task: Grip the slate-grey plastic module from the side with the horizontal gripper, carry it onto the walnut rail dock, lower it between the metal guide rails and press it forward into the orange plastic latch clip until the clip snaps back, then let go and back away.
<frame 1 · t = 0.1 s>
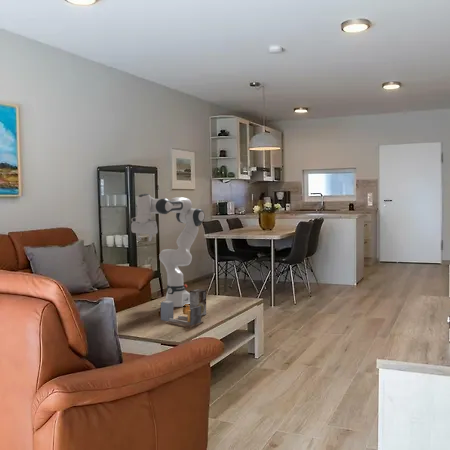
hand: (144, 240, 330), 48 cm above the table, tool pointing down, fingers open, 8 cm apart
module: (167, 319, 318), on the table
rail dock: (184, 323, 310), on the table
latch clip: (191, 316, 307), point 5 cm above the table, slide at 0.0 cm
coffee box: (198, 315, 331), on the table
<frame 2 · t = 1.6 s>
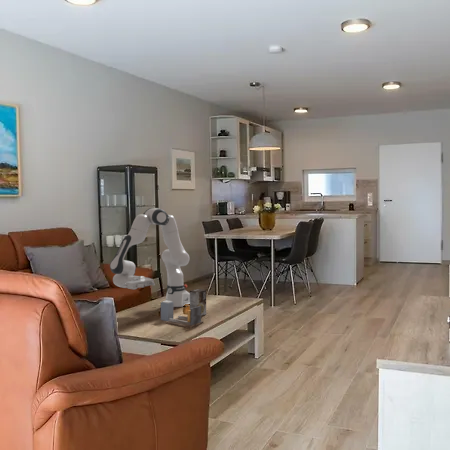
hand: (149, 284, 325), 20 cm above the table, tool horizontal, fingers open, 8 cm apart
nothing on the table moved.
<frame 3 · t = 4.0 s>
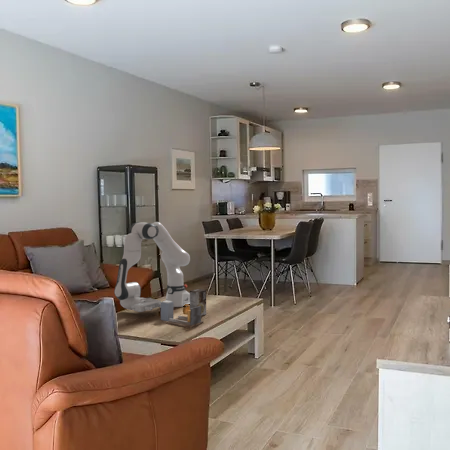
hand: (156, 307, 322), 6 cm above the table, tool horizontal, fingers open, 8 cm apart
nothing on the table moved.
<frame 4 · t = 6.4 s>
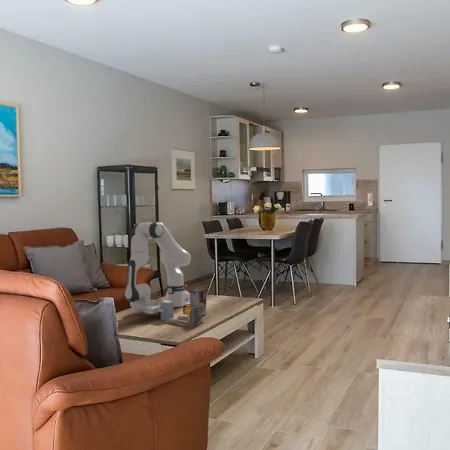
hand: (168, 309, 317), 7 cm above the table, tool horizontal, fingers closed on module, 5 cm apart
module: (167, 319, 318), on the table, touching gripper
everything else where it was.
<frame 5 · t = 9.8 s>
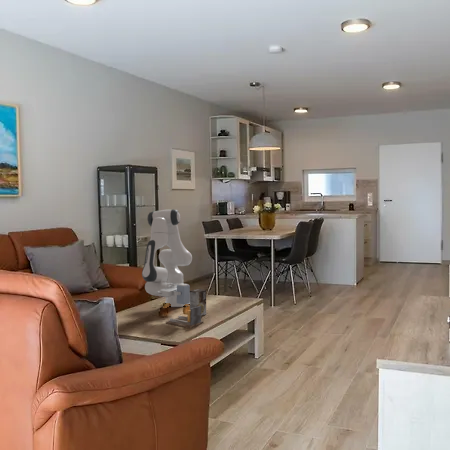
hand: (184, 292, 309), 19 cm above the table, tool horizontal, fingers closed on module, 5 cm apart
module: (183, 303, 310), point 12 cm above the table, touching gripper
everything else where it was.
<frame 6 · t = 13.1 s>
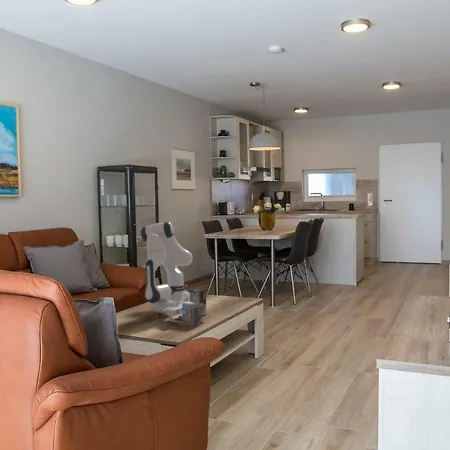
hand: (189, 311, 307), 8 cm above the table, tool horizontal, fingers closed on module, 5 cm apart
module: (188, 321, 308), point 1 cm above the table, touching gripper, latch clip
latch clip: (193, 316, 306), point 5 cm above the table, slide at 1.5 cm, touching module
everything else where it was.
when the fingers open (8 cm above the table, at t = 13.4 s): module stays where it is, resting on rail dock.
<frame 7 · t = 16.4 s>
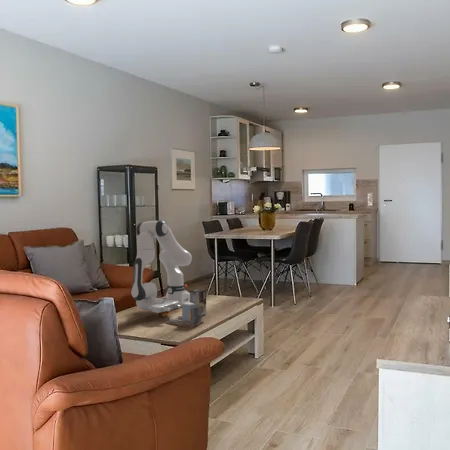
hand: (174, 308, 314), 8 cm above the table, tool horizontal, fingers open, 8 cm apart
module: (188, 322, 308), point 1 cm above the table, touching rail dock
latch clip: (193, 316, 306), point 5 cm above the table, slide at 1.5 cm
everything else where it was.
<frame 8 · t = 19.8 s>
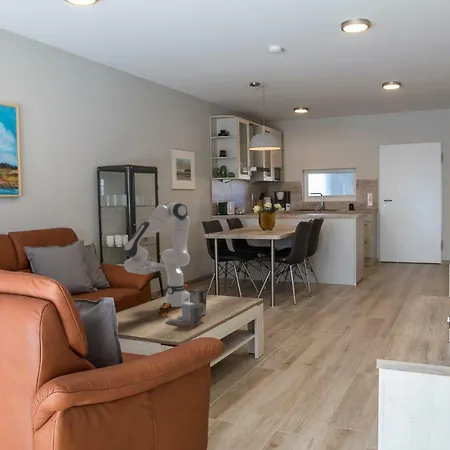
hand: (160, 269, 324), 30 cm above the table, tool horizontal, fingers open, 8 cm apart
nothing on the table moved.
at the end: latch clip slide at 1.5 cm; module 0.2 cm from the target spot, point 1.0 cm above the table; module tilted 0° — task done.
